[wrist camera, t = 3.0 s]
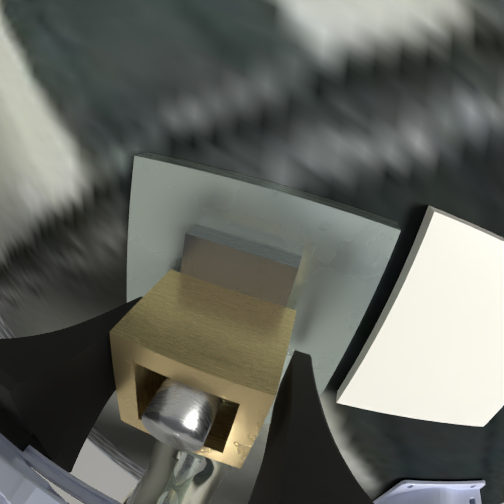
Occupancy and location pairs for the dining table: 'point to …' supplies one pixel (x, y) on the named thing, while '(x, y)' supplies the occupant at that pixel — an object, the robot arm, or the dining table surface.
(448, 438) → the dining table surface
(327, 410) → the dining table surface
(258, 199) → the grey plate with post
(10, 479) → the robot arm
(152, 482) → the beer glass
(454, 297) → the board
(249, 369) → the tan hollow boxy piece
